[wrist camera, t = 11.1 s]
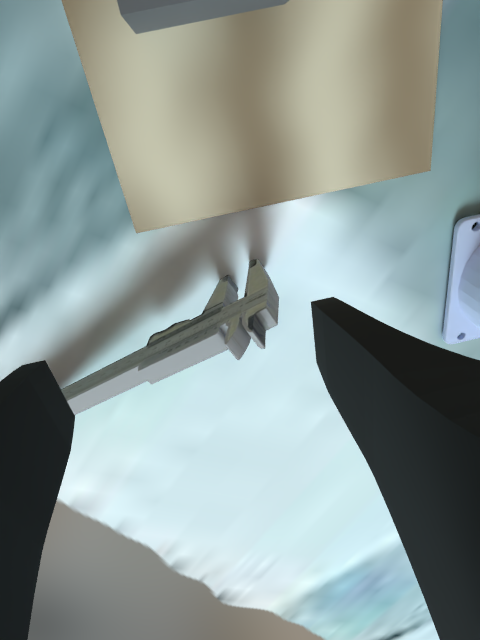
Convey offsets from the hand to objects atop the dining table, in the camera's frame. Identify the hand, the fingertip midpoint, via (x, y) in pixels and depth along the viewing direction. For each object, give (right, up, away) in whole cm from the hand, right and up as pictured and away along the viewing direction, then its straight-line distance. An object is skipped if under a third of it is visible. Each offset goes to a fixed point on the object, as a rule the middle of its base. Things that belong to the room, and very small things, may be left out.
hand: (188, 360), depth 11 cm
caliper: (-6, -1, +12) cm, 14 cm away
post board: (+2, +13, +5) cm, 14 cm away
